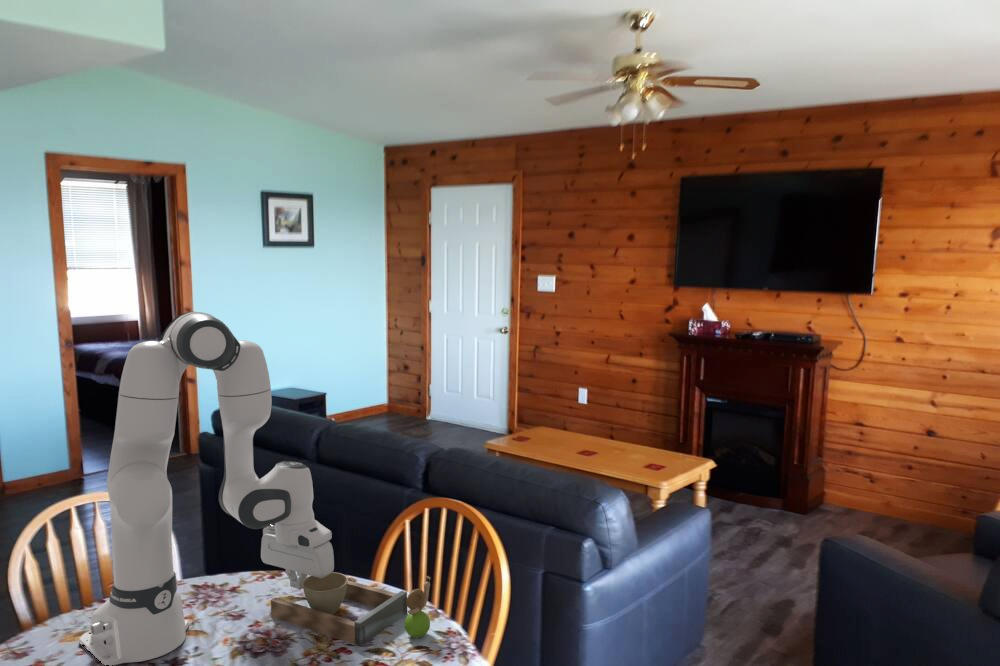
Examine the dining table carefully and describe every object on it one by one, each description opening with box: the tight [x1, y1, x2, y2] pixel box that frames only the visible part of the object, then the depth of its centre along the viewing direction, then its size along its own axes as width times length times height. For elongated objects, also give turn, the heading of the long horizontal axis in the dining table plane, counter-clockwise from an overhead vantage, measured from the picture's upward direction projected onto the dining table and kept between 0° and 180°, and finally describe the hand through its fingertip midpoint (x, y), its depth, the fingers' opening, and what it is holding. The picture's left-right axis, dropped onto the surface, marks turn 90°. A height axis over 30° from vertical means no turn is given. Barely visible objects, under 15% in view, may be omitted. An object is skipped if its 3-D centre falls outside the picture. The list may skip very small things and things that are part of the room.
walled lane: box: [270, 579, 408, 647], centre depth 159 cm, size 26×16×5 cm, turn 61°
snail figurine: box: [404, 575, 431, 639], centre depth 150 cm, size 5×6×12 cm
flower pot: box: [302, 571, 349, 615], centre depth 161 cm, size 10×10×7 cm
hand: (297, 587), depth 166 cm, fingers closed
